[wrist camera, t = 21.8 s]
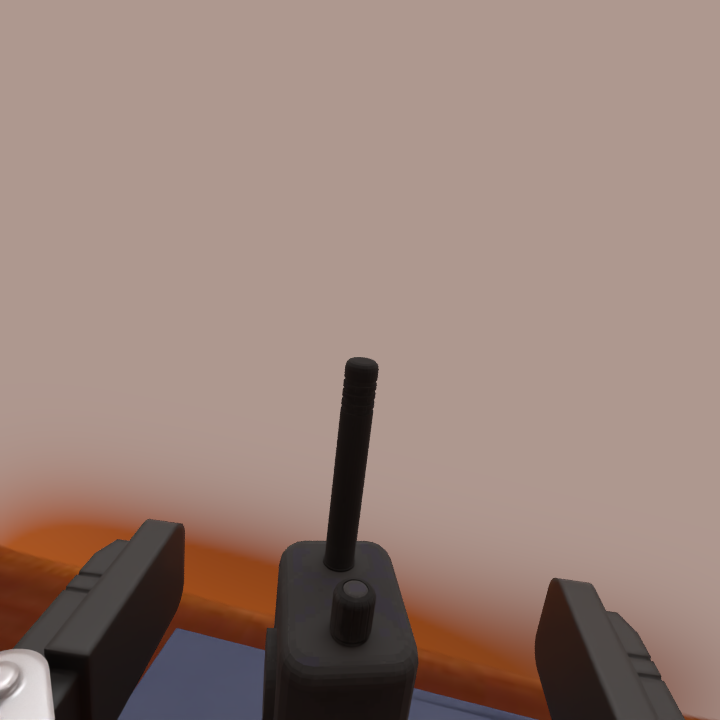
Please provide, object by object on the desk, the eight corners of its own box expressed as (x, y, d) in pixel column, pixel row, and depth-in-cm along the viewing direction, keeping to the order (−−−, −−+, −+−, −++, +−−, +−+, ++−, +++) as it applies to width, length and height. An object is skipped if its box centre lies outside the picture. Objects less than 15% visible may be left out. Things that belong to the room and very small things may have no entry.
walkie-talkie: (376, 938, 14) (475, 424, 10) (247, 955, 14) (289, 416, 9) (353, 756, 19) (413, 348, 14) (255, 762, 18) (286, 339, 14)
